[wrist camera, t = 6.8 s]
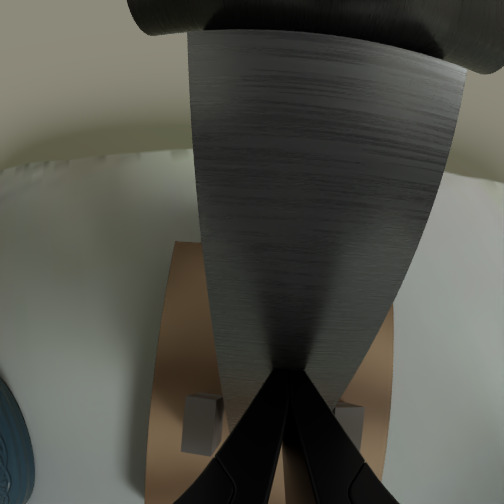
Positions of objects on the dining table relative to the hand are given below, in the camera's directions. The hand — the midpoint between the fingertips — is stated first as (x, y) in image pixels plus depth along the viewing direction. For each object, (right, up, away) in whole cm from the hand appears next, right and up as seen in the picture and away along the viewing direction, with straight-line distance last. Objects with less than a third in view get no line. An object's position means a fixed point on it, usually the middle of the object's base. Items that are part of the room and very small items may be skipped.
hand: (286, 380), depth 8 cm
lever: (0, -5, +5) cm, 7 cm away
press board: (0, -6, +7) cm, 9 cm away
